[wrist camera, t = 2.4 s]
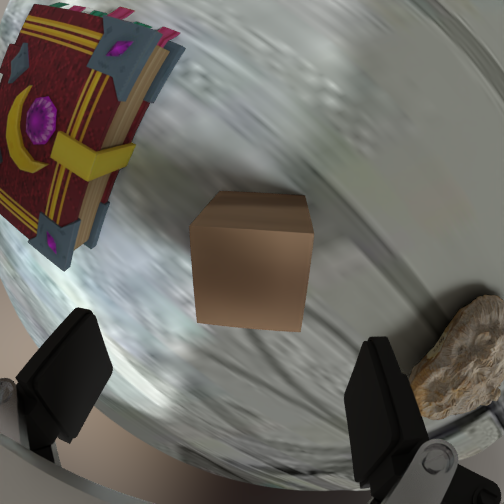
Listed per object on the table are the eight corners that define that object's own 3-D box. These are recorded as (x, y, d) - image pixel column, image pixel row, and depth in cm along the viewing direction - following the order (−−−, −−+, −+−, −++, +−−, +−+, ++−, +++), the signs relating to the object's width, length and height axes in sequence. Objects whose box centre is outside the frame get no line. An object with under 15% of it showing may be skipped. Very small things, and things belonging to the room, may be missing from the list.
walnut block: (219, 190, 17) (189, 225, 12) (305, 195, 17) (314, 233, 11) (221, 265, 19) (196, 322, 14) (297, 271, 19) (300, 332, 14)
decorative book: (11, 178, 18) (-29, 196, 14) (78, -1, 12) (35, -16, 7) (99, 244, 20) (60, 276, 16) (199, 35, 13) (167, 8, 9)
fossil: (473, 270, 17) (561, 335, 11) (465, 284, 23) (532, 333, 17) (386, 401, 19) (469, 465, 12) (400, 382, 25) (465, 431, 19)
